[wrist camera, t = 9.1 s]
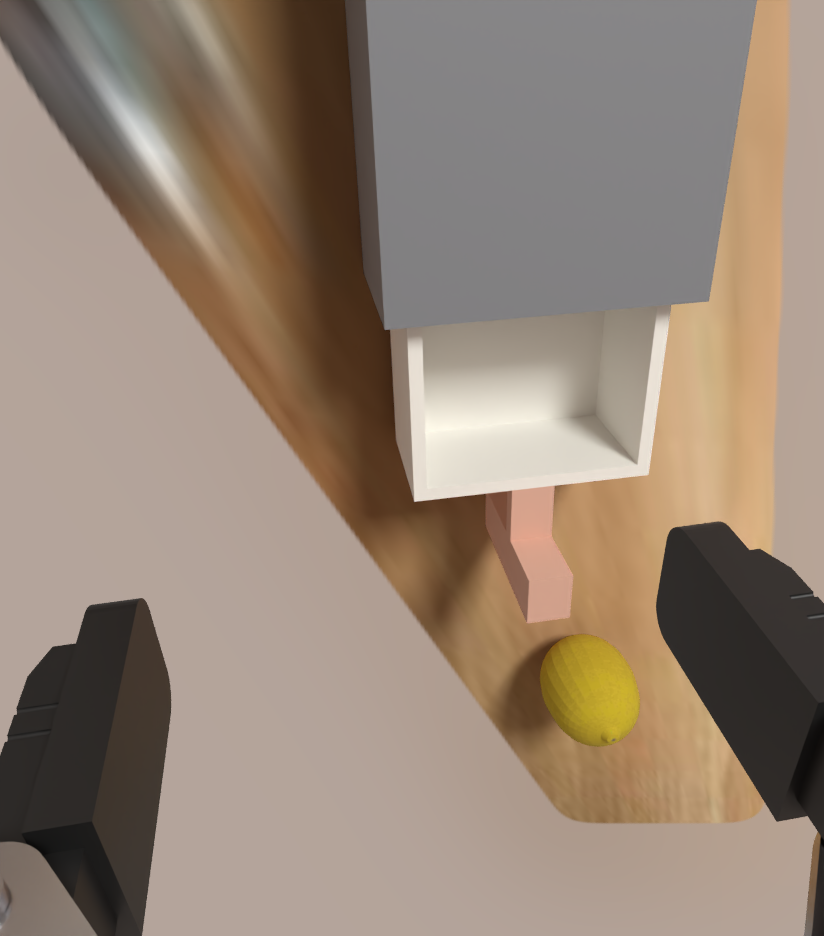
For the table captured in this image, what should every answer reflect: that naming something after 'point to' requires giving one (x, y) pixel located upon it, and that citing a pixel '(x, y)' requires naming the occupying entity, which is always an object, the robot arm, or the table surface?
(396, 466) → the table surface
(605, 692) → the lemon
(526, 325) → the drawer
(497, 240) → the sleeve
